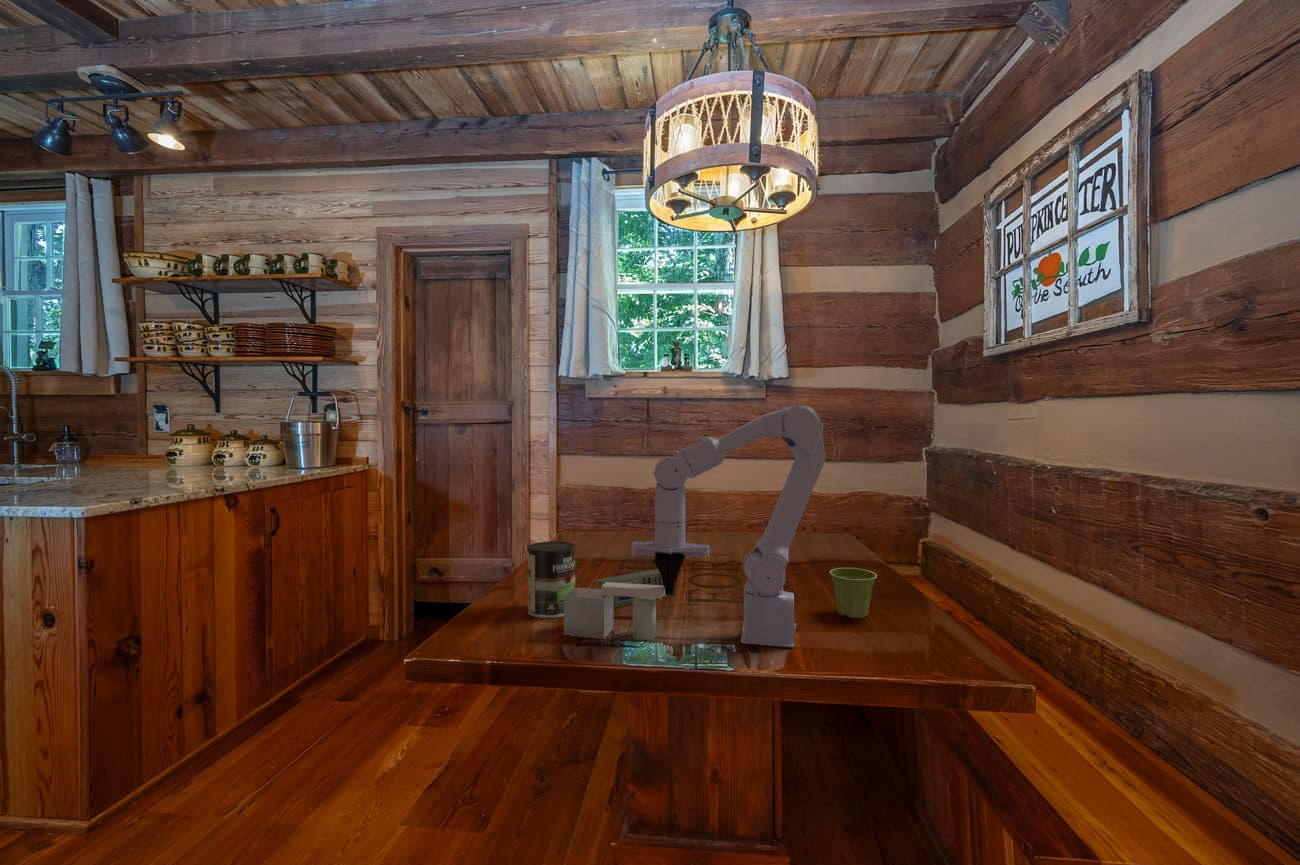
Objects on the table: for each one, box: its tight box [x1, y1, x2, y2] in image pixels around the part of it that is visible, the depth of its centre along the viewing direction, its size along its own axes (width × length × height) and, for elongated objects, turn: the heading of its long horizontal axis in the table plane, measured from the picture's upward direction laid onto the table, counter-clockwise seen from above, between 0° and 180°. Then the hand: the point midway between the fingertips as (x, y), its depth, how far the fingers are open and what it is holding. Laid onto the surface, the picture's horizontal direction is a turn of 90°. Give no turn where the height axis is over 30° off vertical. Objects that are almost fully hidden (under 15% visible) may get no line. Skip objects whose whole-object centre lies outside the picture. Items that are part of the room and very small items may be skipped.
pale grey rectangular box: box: [601, 582, 665, 600], centre depth 107 cm, size 12×3×2 cm, turn 77°
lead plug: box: [632, 597, 657, 642], centre depth 106 cm, size 4×4×7 cm
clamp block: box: [563, 586, 615, 640], centre depth 109 cm, size 8×6×8 cm
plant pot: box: [829, 567, 878, 619], centre depth 119 cm, size 9×9×9 cm
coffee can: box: [526, 540, 577, 619], centre depth 121 cm, size 10×10×14 cm
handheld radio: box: [594, 568, 675, 609], centre depth 126 cm, size 7×3×25 cm
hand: (670, 593), depth 105 cm, fingers closed
